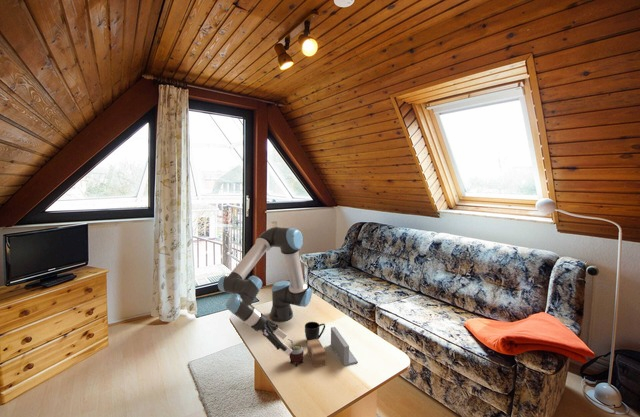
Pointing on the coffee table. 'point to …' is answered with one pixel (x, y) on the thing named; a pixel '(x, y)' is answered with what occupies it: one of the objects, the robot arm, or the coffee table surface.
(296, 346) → the mate gourd
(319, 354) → the tan block with ledge
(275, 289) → the robot arm
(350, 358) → the backstop board
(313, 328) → the mug
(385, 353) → the coffee table surface
